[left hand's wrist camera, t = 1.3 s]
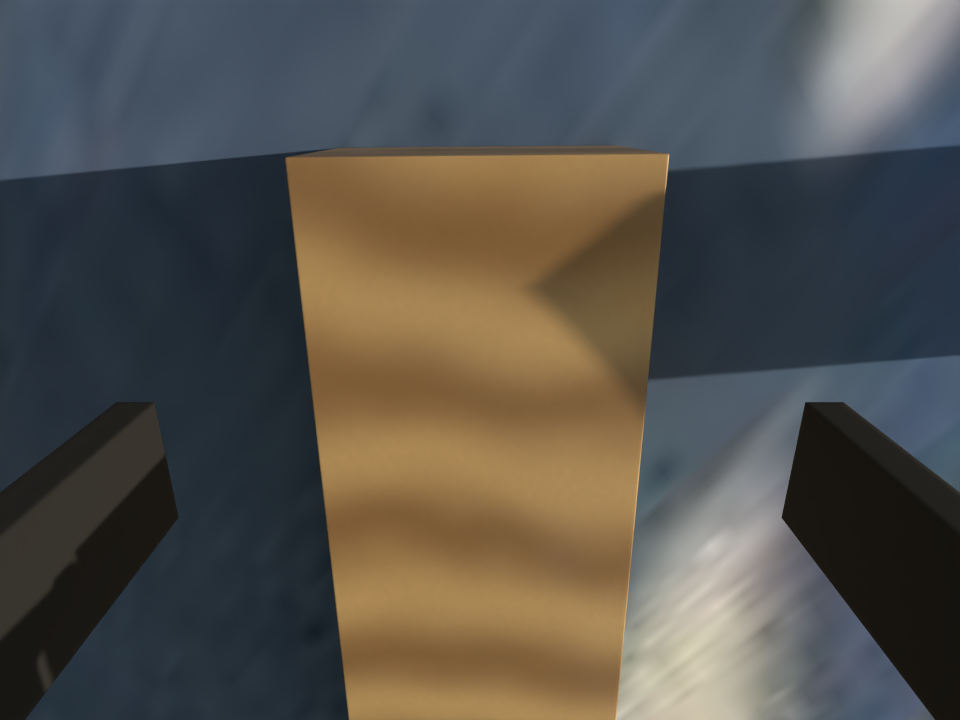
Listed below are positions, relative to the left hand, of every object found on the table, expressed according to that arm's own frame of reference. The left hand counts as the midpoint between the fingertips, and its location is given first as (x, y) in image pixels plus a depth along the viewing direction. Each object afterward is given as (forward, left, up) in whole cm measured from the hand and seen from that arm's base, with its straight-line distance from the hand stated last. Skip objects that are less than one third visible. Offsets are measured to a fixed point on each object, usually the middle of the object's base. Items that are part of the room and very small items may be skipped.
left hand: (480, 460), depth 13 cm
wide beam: (+28, +20, -13) cm, 37 cm away
